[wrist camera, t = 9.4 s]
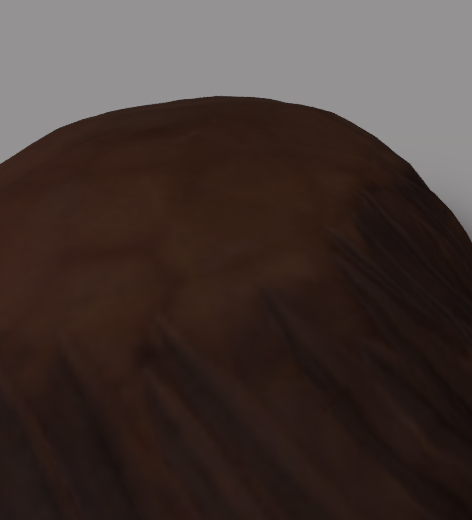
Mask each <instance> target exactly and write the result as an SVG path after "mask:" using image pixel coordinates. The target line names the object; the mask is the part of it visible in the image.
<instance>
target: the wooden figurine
mask: <svg viewBox="0 0 472 520" xmlns="http://www.w3.org/2000/svg"><path fill="white" fill-rule="evenodd" d="M0 520H472V242H471V240H470V238H469V236H468V235H467V233H466V231H465V230H464V228H463V227H462V226H461V224H460V223H459V221H458V220H457V218H456V217H455V215H454V214H453V212H452V211H451V210H450V209H449V208H448V207H447V206H446V205H445V204H444V203H443V202H442V201H441V200H440V199H439V198H438V196H436V194H435V193H433V192H432V191H431V190H430V189H429V188H428V186H427V185H426V184H425V182H424V181H423V180H422V178H421V177H420V176H419V175H418V173H417V172H416V171H415V170H414V168H413V167H412V166H411V165H410V164H409V163H408V162H407V161H405V160H404V159H403V158H401V157H400V156H399V155H397V154H396V153H395V152H393V151H392V150H391V149H390V148H389V147H388V146H386V145H385V144H384V143H382V142H381V141H380V140H379V139H378V138H376V137H375V136H373V135H372V134H370V133H368V132H367V131H365V130H363V129H362V128H360V127H358V126H357V125H355V124H353V123H352V122H350V121H348V120H346V119H344V118H342V117H340V116H338V115H337V114H335V113H332V112H329V111H325V110H322V109H317V108H314V107H309V106H305V105H299V104H292V103H285V102H281V101H277V100H272V99H265V98H255V97H231V96H229V97H228V96H214V97H203V98H195V99H183V100H177V101H172V102H166V103H159V104H152V105H144V106H138V107H132V108H126V109H121V110H116V111H111V112H107V113H104V114H101V115H97V116H94V117H90V118H86V119H82V120H80V121H77V122H74V123H71V124H69V125H66V126H63V127H61V128H58V129H56V130H54V131H53V132H51V133H49V134H48V135H46V136H44V137H43V138H41V139H39V140H38V141H36V142H34V143H32V144H31V145H29V146H28V147H26V148H25V149H23V150H22V151H20V152H19V153H17V154H16V155H14V156H12V157H11V158H10V159H8V160H6V161H4V162H3V163H1V164H0Z"/></svg>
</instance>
